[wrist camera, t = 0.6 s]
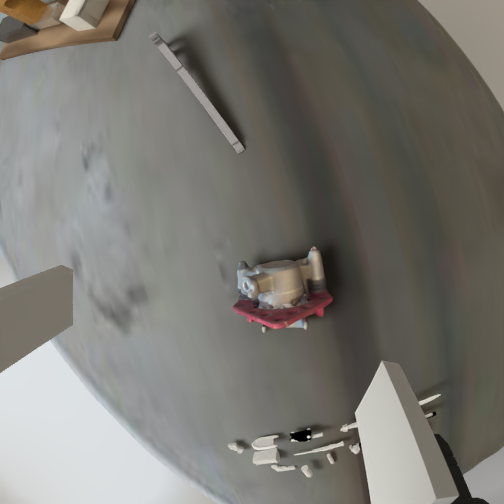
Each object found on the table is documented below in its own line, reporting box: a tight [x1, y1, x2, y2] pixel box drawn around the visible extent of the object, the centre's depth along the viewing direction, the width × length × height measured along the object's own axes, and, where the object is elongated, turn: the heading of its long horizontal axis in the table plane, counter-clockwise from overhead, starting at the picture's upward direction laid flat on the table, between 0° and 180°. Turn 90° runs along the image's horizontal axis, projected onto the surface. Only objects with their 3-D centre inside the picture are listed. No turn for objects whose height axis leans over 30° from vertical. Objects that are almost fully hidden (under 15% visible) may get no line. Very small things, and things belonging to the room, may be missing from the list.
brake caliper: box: [233, 247, 333, 333], centre depth 35 cm, size 11×11×12 cm
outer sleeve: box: [0, 16, 40, 44], centre depth 32 cm, size 5×12×5 cm, turn 75°
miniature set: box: [228, 394, 441, 477], centre depth 40 cm, size 6×35×12 cm
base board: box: [0, 0, 135, 60], centre depth 34 cm, size 12×36×2 cm, turn 75°
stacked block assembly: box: [0, 0, 65, 31], centre depth 27 cm, size 4×22×13 cm, turn 75°
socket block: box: [59, 0, 110, 31], centre depth 30 cm, size 8×4×6 cm, turn 165°
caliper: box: [149, 32, 245, 154], centre depth 32 cm, size 20×1×6 cm, turn 34°
